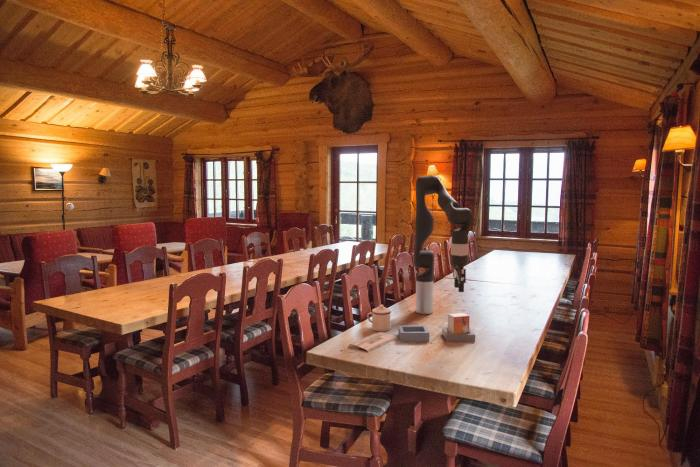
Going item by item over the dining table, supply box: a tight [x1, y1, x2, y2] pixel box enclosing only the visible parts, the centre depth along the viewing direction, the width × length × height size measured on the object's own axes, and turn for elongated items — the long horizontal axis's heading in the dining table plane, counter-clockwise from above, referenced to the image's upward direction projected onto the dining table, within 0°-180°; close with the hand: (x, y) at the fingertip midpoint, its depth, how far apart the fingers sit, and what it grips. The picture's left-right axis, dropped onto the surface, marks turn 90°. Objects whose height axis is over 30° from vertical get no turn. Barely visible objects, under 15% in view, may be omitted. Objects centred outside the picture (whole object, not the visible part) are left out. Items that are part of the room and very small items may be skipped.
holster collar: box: [441, 326, 476, 342], centre depth 211 cm, size 10×12×3 cm
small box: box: [447, 312, 470, 334], centre depth 211 cm, size 8×6×10 cm
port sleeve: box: [398, 325, 430, 343], centre depth 211 cm, size 10×12×4 cm
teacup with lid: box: [366, 304, 392, 332], centre depth 225 cm, size 12×9×12 cm
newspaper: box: [348, 331, 398, 353], centre depth 206 cm, size 23×12×2 cm, turn 141°
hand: (459, 289), depth 209 cm, fingers open, 8 cm apart
